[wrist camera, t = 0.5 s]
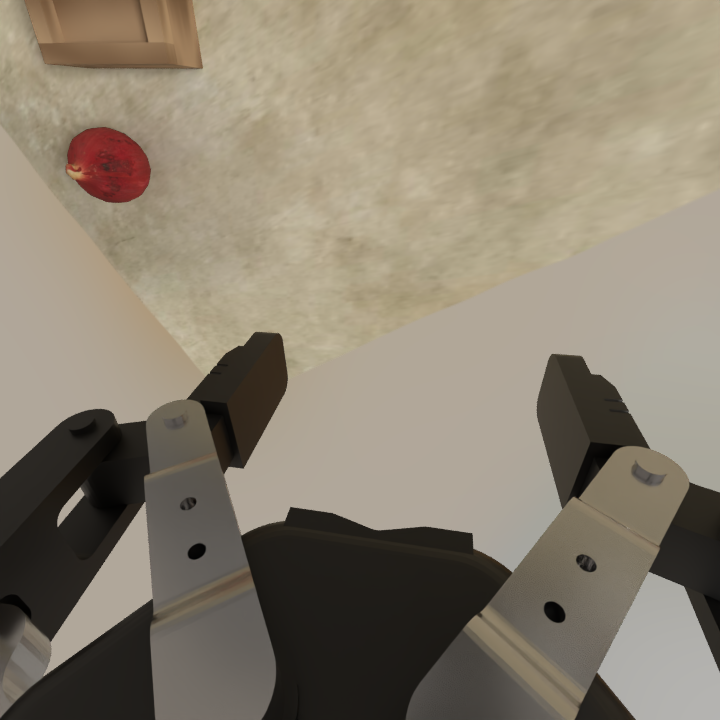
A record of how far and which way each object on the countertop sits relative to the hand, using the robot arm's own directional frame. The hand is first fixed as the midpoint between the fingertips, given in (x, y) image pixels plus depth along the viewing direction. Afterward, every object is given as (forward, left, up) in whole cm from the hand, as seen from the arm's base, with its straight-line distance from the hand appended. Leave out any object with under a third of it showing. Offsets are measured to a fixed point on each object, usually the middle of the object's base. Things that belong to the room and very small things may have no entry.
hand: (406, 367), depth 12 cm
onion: (-2, -27, -27) cm, 39 cm away
